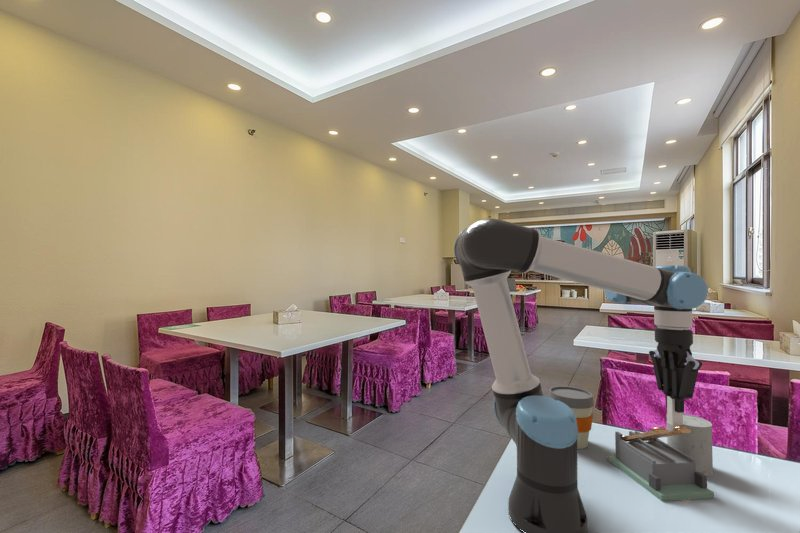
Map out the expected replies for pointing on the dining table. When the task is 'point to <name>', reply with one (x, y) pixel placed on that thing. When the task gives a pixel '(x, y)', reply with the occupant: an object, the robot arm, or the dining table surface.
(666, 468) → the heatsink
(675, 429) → the strap
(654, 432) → the strap
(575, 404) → the reusable coffee cup
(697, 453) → the gray concrete cylinder
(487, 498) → the dining table surface
